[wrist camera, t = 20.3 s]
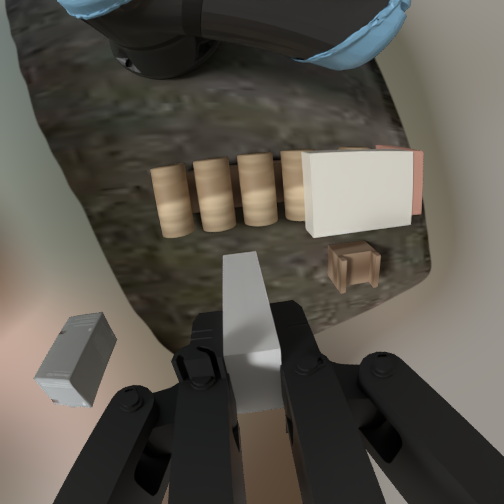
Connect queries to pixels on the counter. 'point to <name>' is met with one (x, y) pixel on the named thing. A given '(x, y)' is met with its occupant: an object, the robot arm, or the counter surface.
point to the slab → (356, 190)
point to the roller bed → (229, 191)
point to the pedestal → (353, 264)
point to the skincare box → (77, 361)
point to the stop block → (416, 176)
